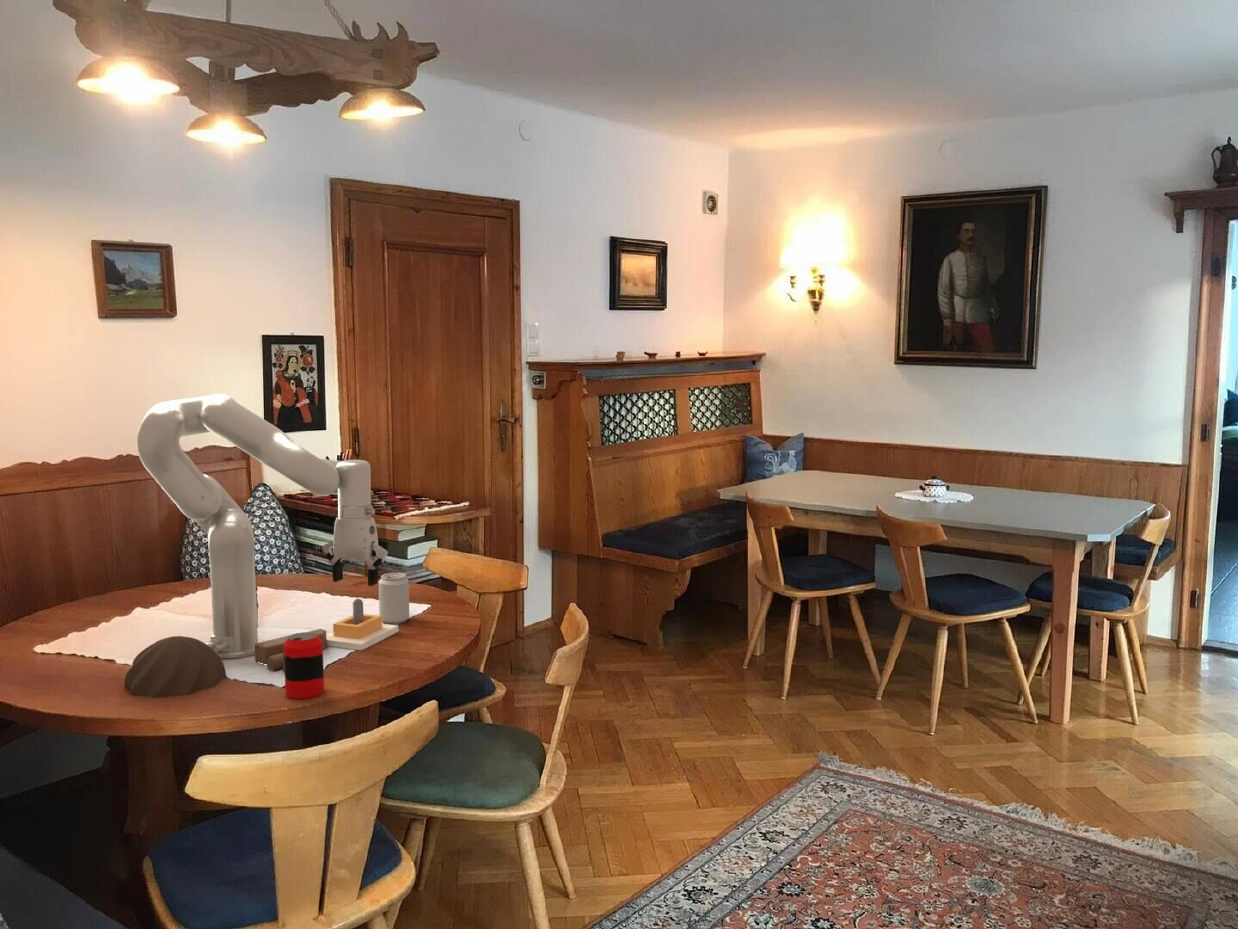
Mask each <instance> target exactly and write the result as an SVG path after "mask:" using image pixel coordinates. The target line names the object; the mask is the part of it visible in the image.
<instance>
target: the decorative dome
mask: <svg viewBox="0 0 1238 929" xmlns="http://www.w3.org/2000/svg"><path fill="white" fill-rule="evenodd" d="M131 663H132V666H131V667H130V669H128V671H127V672H126V675H125V677H124V687H126V688H128V689H129V688H130V690H129V695H131V694H132V695H134V696H135V695H138V696H140V695H141V696H146V697H149V698H152V699H156V698H157V699H158V698H163V697H168V696H188V695H190V694H191V695H192V694H194V693H195V692H197V691H198V692H199V691H202V690H207V689H211V688H215V687H216V685H217V683H218V682H220V681H222V680H224V679H225V678H227V673H226V667H225V664H224V662H223V659H222V658H220V657H219V655H218V654H217V653H216V652H215V651H214V650H213V649H212V648H211V647H209V646H208V645H207V644H206V643H205V642H204V641H201V640H199V639H197V638H194V637H190V636H189V637H188V636H182V635H175V636H170V637H164V638H161V639H159V640H157V641H156V642H154V643H152V644H150V645H148V646H147V647H146V648H144V649H142V651H140V652H139V653H138V654H137V655H136V656H135V657H134V659H133V660H132V662H131Z"/></svg>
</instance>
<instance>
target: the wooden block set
mask: <svg viewBox="0 0 1238 929" xmlns="http://www.w3.org/2000/svg"><path fill="white" fill-rule="evenodd" d="M308 632H311V633H316V634H317V635H318V637H319V638H320V639H321V640H322V641H323V649H325V648H326V647H328V646H327V639H326V635H327V631H326V630H325V629H322V628H317V629H314V630H309V631H308ZM289 636H290V634H289V635H286V636H281V637H278V638H273V639H272V638H271V639H270V640H263V641H264V642H260V643H256V644H255V654H254V659H255V660H254V661H256V662H255V663H257V662H260V663H263V664H267V668H268V670H269V669H271V670H274V671H277V670H276V669H278V670H282V671H284V672H285V668H284V643H285V642H286V640H287V639H288V637H289ZM271 670H270V671H271Z"/></svg>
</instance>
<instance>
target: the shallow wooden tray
mask: <svg viewBox="0 0 1238 929" xmlns="http://www.w3.org/2000/svg"><path fill="white" fill-rule="evenodd" d="M363 618H364V622H362V623H360V624H358V625H354V624H353V614H352V615H350V616H348V617H345V618H344V619H341V620H339V621H337V622H335V623H333V624H332V630H333V631H332V632H333V633H334V636H335V637H343V638H351V639H361V638H363V637H365V636H367V635H369V634H371V633H373V632H375V631H377V630H379V629H381V628H382V624H383V621H382V616H379V614H378V615H377V614H376V615H375V614H368V613H363Z"/></svg>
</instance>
